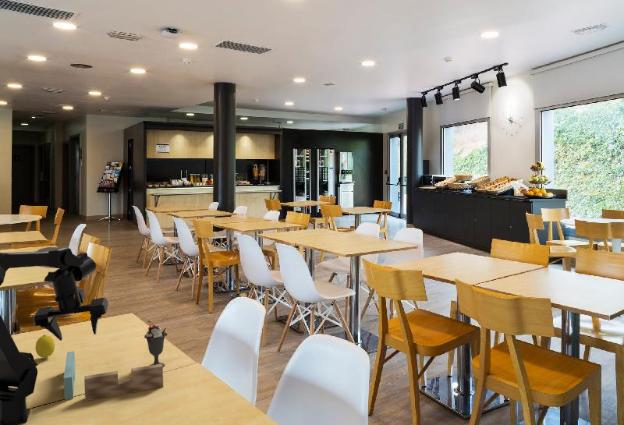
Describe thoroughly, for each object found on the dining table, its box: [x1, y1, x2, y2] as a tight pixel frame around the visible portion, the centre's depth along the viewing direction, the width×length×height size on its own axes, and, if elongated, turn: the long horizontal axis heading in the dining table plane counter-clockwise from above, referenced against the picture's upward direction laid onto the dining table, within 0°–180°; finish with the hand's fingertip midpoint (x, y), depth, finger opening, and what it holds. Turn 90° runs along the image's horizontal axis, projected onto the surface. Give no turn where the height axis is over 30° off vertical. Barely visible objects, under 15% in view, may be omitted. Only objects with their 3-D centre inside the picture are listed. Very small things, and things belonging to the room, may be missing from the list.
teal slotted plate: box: [63, 350, 76, 401], centre depth 138 cm, size 20×2×6 cm, turn 25°
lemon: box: [35, 334, 56, 360], centre depth 156 cm, size 6×6×8 cm
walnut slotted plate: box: [83, 364, 164, 402], centre depth 133 cm, size 20×2×6 cm, turn 114°
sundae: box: [143, 320, 168, 368], centre depth 149 cm, size 7×7×15 cm
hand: (78, 336), depth 140 cm, fingers open, 9 cm apart
